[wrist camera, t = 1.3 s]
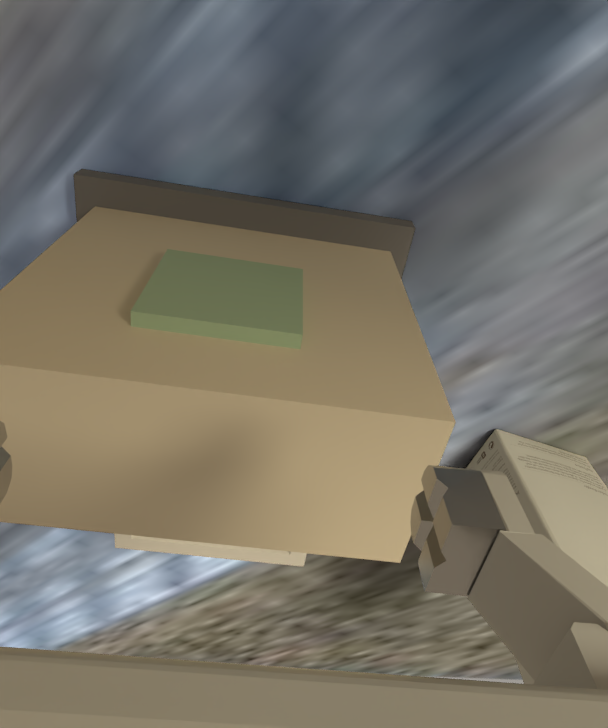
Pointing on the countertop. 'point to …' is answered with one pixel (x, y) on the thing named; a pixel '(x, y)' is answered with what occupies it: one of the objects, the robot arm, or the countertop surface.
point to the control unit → (219, 374)
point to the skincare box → (554, 498)
